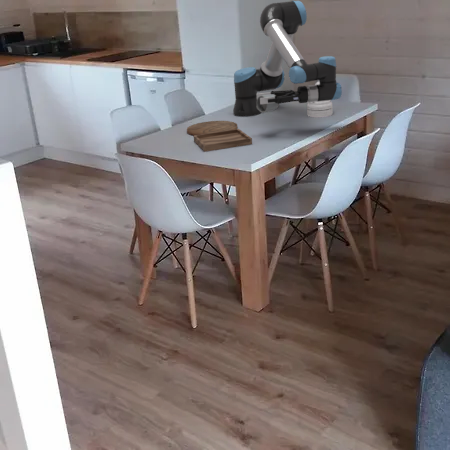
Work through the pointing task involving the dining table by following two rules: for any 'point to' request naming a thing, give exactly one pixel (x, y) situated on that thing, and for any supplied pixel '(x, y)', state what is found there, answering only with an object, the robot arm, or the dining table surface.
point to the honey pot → (319, 108)
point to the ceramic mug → (266, 107)
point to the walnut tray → (222, 140)
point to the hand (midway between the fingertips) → (258, 99)
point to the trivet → (210, 127)
